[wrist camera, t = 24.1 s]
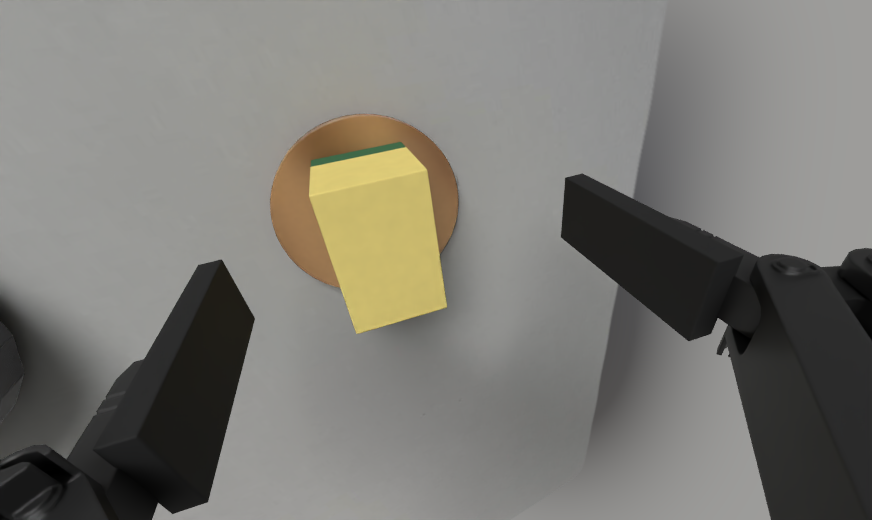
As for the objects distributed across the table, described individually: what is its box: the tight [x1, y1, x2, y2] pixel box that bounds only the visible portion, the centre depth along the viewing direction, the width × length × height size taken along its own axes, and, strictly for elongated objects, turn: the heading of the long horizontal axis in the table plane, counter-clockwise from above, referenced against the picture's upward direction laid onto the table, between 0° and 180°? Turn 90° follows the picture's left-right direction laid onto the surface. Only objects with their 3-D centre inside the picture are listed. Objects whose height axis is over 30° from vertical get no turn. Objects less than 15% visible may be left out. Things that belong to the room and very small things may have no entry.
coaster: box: [270, 114, 458, 288], centre depth 19 cm, size 10×10×1 cm
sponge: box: [309, 142, 447, 334], centre depth 17 cm, size 7×4×5 cm, turn 7°
